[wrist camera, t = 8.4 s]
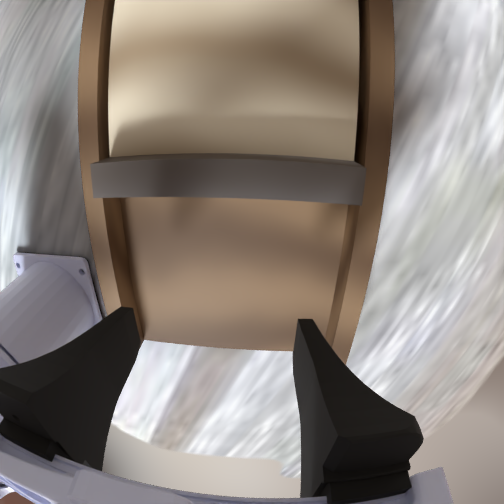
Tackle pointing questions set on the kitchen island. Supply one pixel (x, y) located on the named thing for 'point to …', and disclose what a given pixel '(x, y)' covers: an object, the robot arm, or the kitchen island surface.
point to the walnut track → (238, 226)
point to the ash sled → (233, 101)
